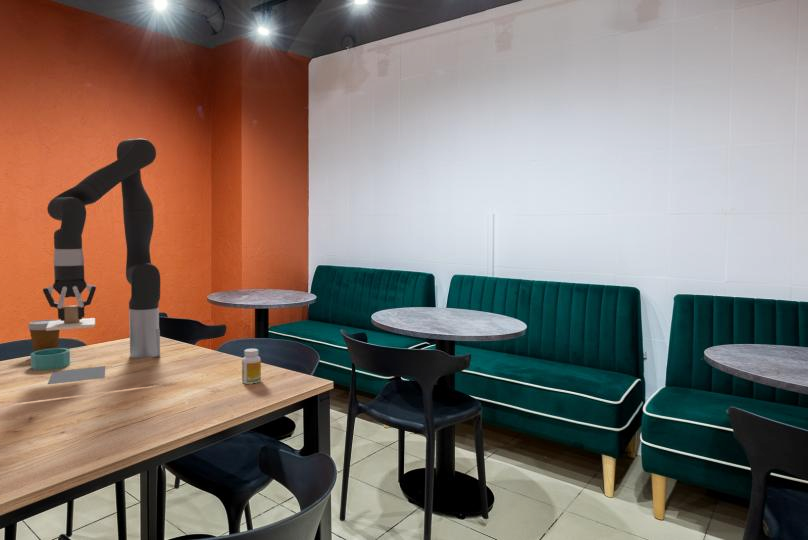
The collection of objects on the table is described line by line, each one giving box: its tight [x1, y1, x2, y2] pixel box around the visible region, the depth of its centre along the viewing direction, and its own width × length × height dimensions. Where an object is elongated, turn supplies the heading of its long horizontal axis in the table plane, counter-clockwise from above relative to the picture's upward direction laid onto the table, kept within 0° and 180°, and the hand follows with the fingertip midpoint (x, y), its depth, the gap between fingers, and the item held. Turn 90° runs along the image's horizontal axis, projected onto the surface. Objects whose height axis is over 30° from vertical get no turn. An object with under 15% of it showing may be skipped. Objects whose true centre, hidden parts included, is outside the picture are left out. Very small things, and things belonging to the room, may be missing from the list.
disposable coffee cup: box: [27, 319, 61, 352], centre depth 173 cm, size 10×10×12 cm
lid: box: [46, 304, 96, 331], centre depth 151 cm, size 12×12×6 cm
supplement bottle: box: [241, 348, 262, 385], centre depth 148 cm, size 5×5×10 cm
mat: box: [47, 365, 106, 385], centre depth 151 cm, size 14×14×1 cm
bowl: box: [30, 347, 71, 371], centre depth 159 cm, size 10×10×5 cm
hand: (71, 319), depth 151 cm, fingers closed on lid, 4 cm apart
